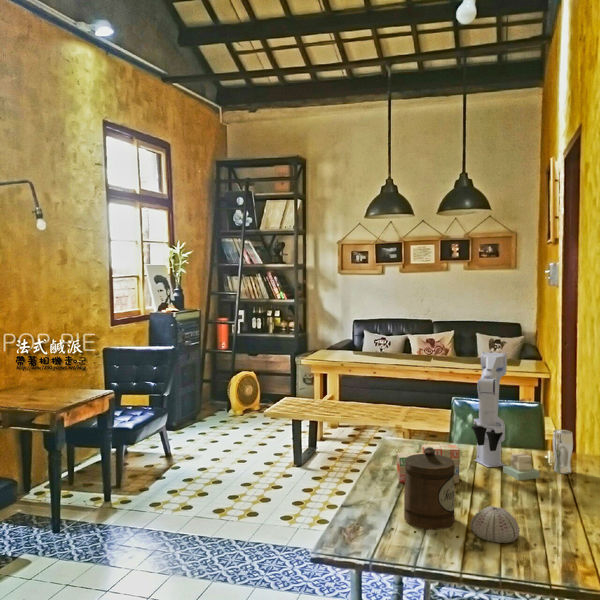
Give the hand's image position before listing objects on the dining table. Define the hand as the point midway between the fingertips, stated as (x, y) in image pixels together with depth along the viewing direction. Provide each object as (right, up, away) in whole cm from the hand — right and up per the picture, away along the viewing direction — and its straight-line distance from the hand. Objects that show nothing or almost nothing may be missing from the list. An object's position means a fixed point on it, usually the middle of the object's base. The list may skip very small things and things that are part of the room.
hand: (486, 447), depth 225 cm
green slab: (+13, -11, +1) cm, 17 cm away
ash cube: (+13, -8, +1) cm, 15 cm away
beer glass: (+30, -10, +5) cm, 32 cm away
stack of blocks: (-22, -11, -4) cm, 25 cm away
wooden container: (-30, -12, -40) cm, 51 cm away
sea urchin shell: (-13, -13, -52) cm, 55 cm away
